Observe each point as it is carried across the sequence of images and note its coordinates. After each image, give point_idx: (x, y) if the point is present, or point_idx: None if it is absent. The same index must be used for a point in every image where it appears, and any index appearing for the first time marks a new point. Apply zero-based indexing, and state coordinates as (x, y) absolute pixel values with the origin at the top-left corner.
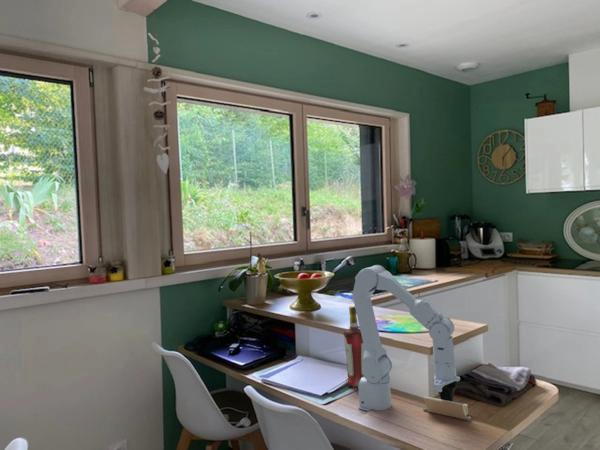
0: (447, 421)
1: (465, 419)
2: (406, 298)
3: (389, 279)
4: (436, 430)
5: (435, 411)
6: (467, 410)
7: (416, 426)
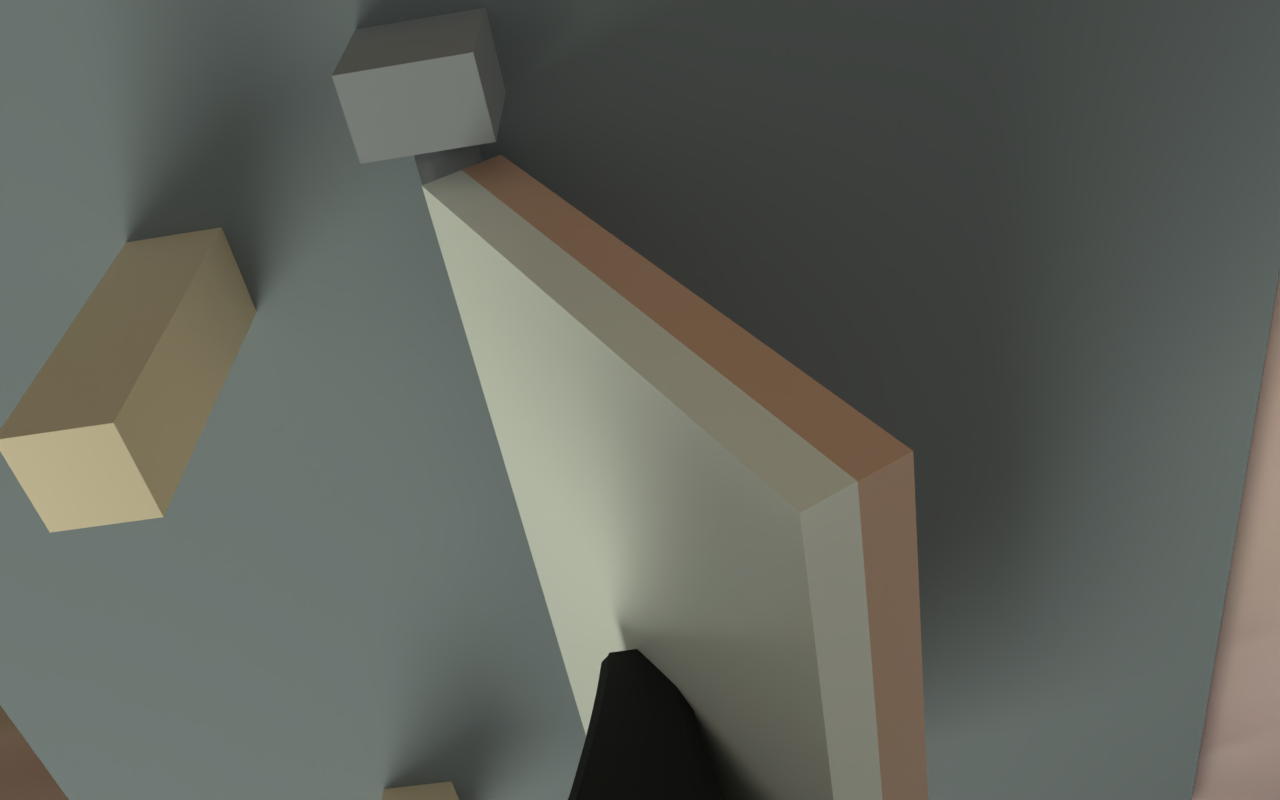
0: None
1: (504, 166)
2: None
3: None
4: (1260, 447)
5: None
6: (103, 321)
7: (1241, 733)
